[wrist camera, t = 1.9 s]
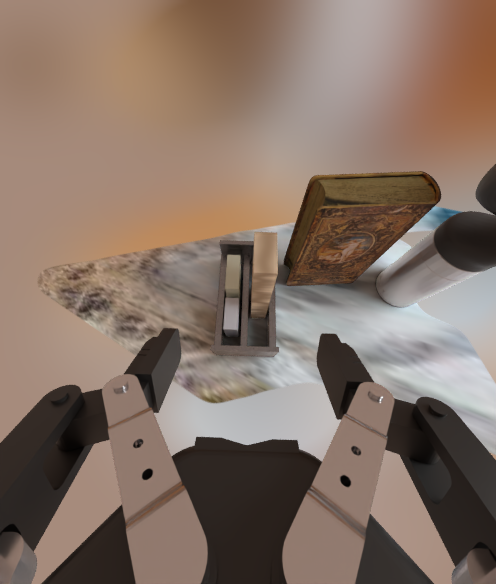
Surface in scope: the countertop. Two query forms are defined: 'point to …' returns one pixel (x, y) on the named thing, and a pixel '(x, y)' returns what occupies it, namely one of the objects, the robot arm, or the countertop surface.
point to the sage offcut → (233, 277)
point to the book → (354, 223)
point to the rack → (218, 348)
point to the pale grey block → (231, 317)
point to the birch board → (263, 272)
